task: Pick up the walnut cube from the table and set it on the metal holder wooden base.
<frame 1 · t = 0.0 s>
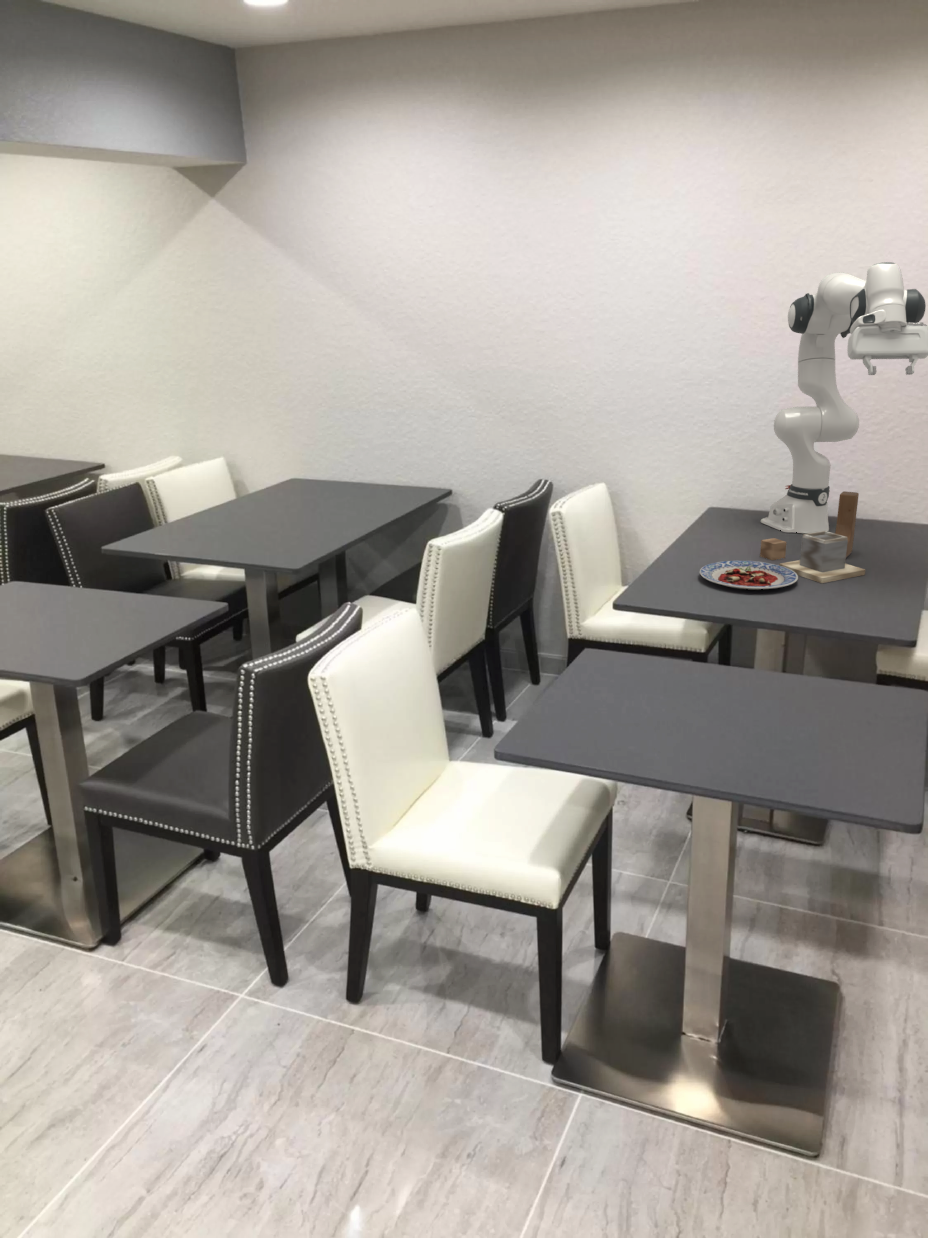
hand: (891, 373, 256), 54 cm above the table, tool tilted 30°, fingers open, 8 cm apart
walnut cube: (772, 557, 296), on the table
metal holder wooden base: (821, 571, 281), on the table
wooden block: (840, 555, 297), on the table
ceramic plate: (747, 581, 275), on the table
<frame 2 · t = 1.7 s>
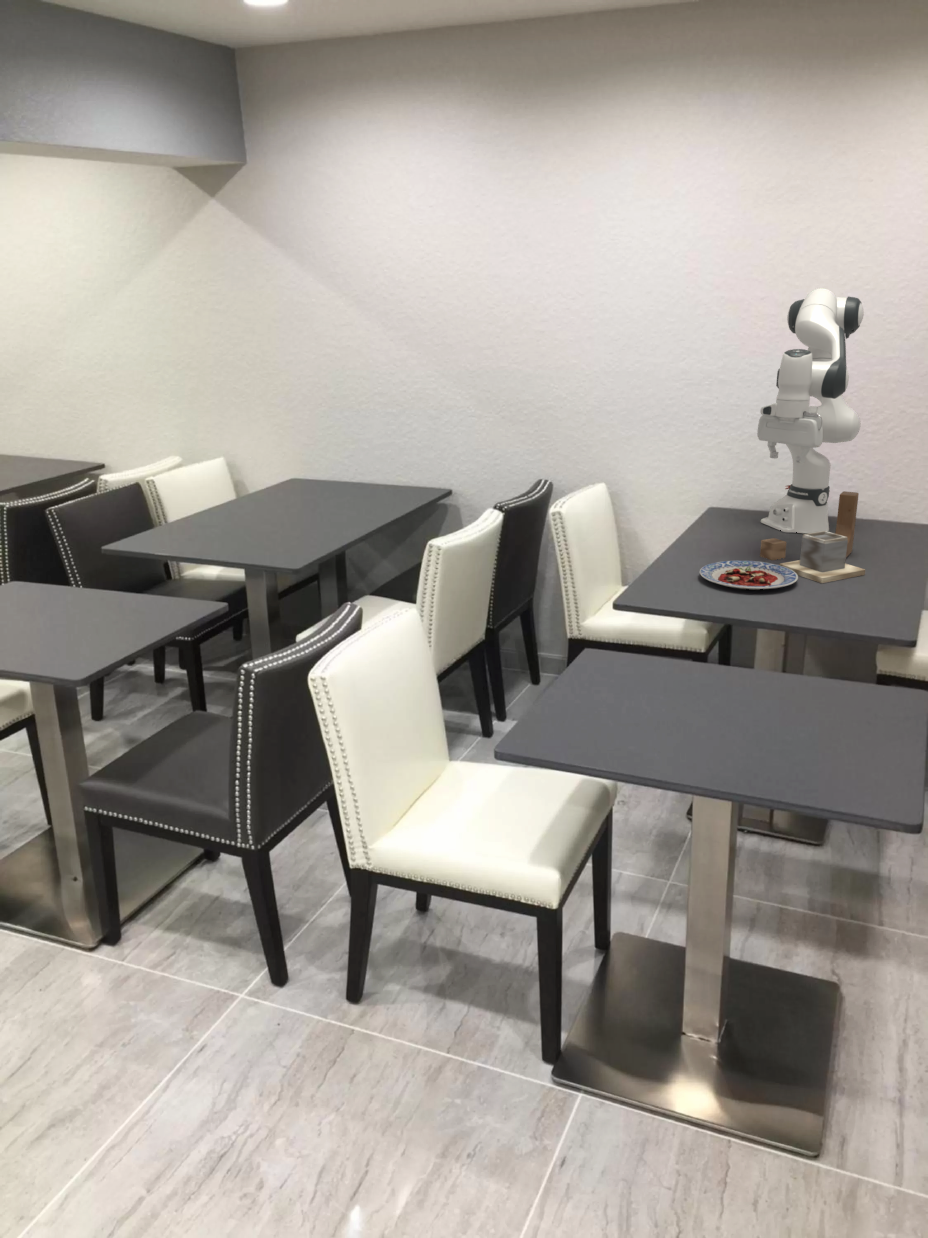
hand: (787, 460, 284), 29 cm above the table, tool pointing down, fingers open, 8 cm apart
nothing on the table moved.
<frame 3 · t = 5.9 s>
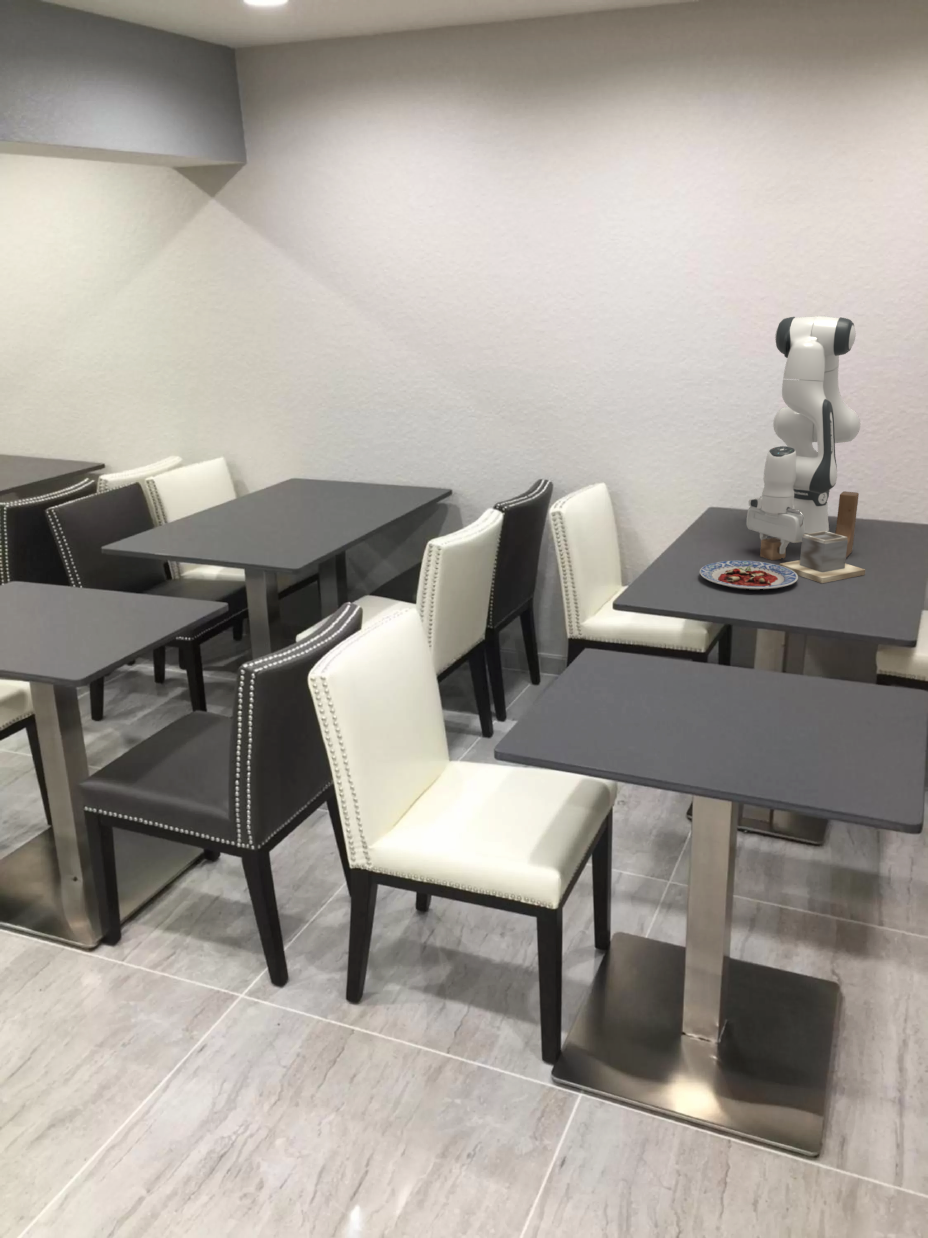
hand: (773, 550, 295), 2 cm above the table, tool pointing down, fingers closed on walnut cube, 5 cm apart
walnut cube: (772, 557, 296), on the table, touching gripper
everything else where it was.
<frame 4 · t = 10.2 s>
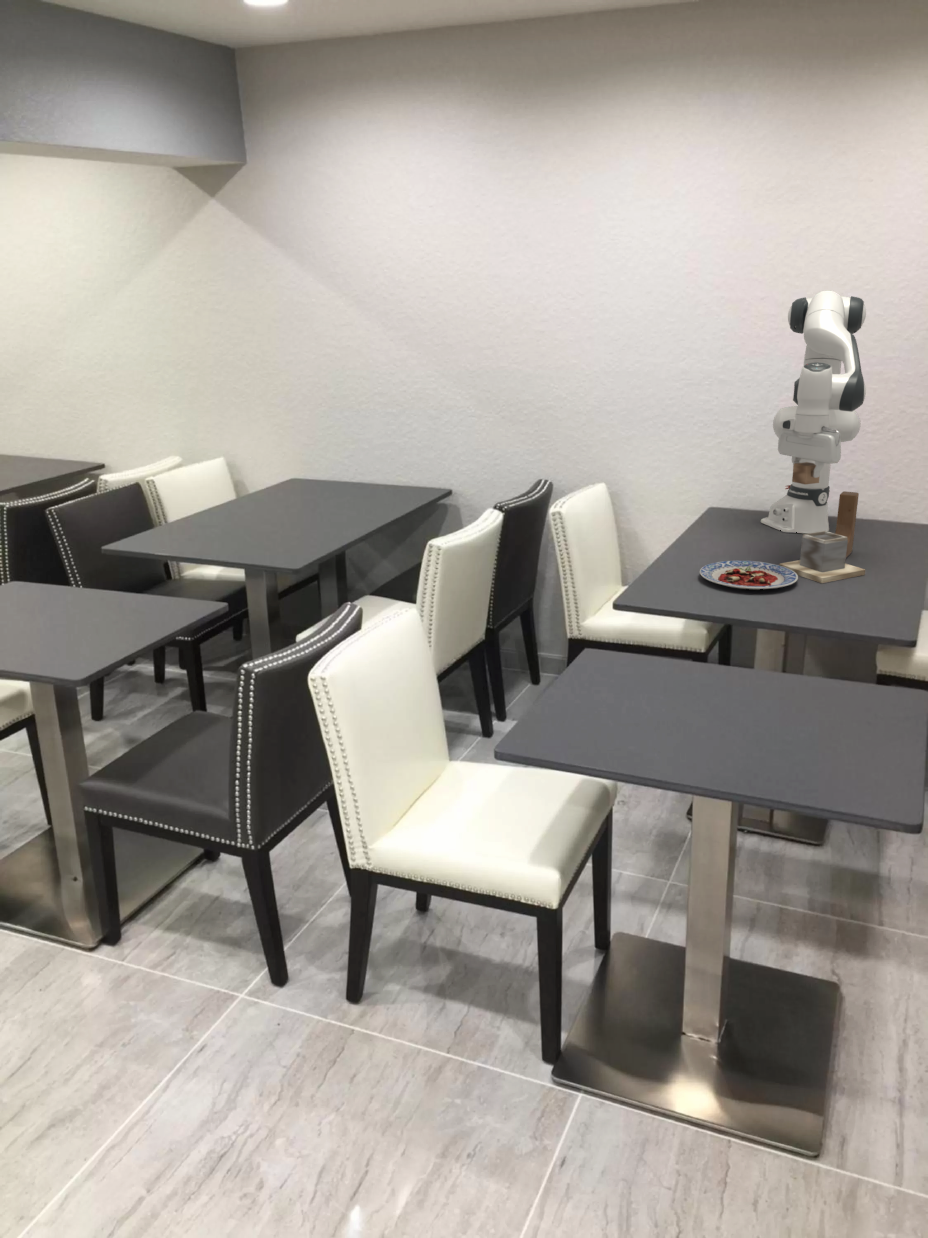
hand: (806, 475, 279), 26 cm above the table, tool pointing down, fingers closed on walnut cube, 5 cm apart
walnut cube: (805, 482, 280), point 24 cm above the table, touching gripper
everything else where it was.
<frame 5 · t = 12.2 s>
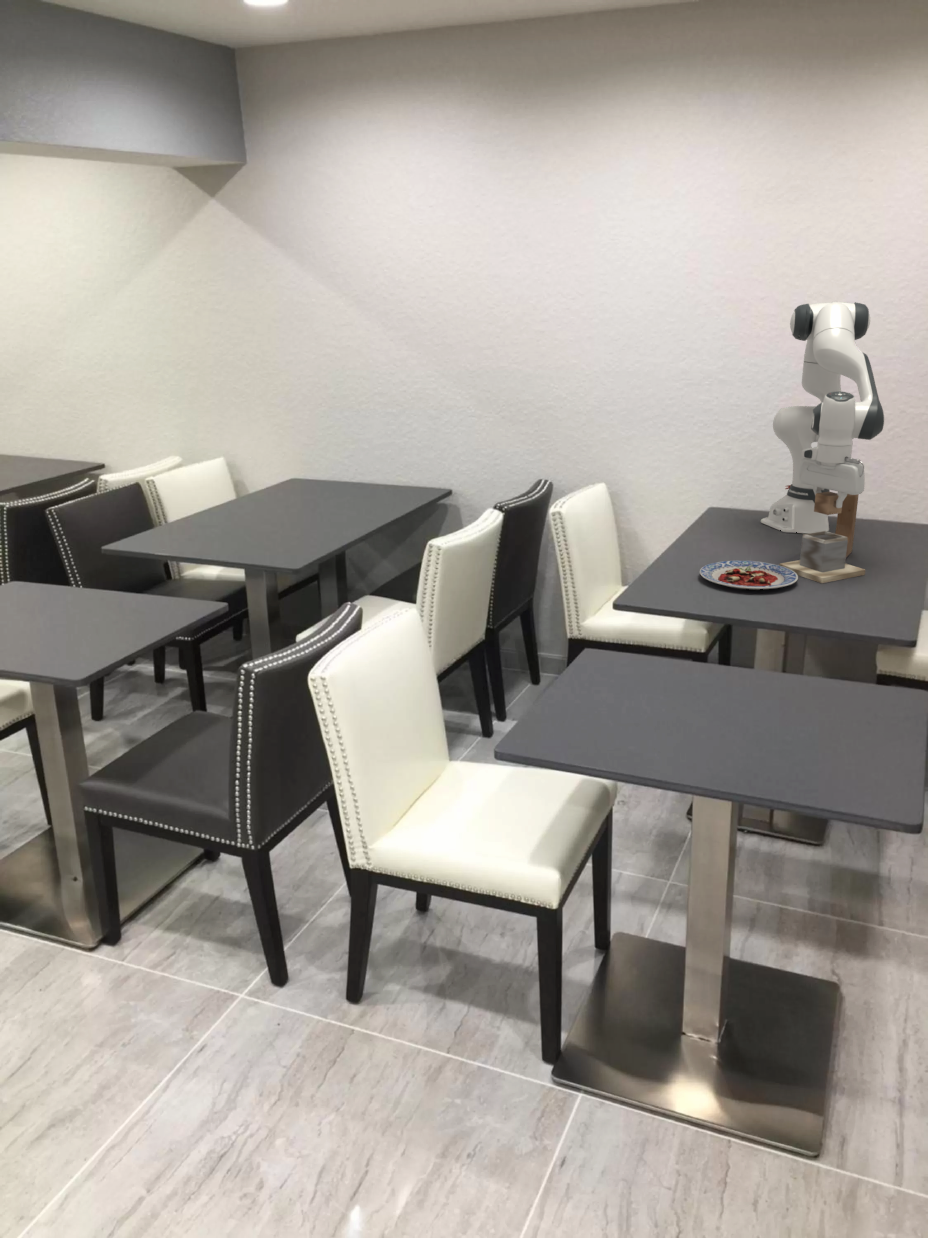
hand: (828, 505, 275), 19 cm above the table, tool pointing down, fingers closed on walnut cube, 5 cm apart
walnut cube: (827, 512, 275), point 17 cm above the table, touching gripper
everything else where it was.
when the fingers open (12 cm above the table, at t = 14.2 s): walnut cube stays where it is, resting on metal holder wooden base.
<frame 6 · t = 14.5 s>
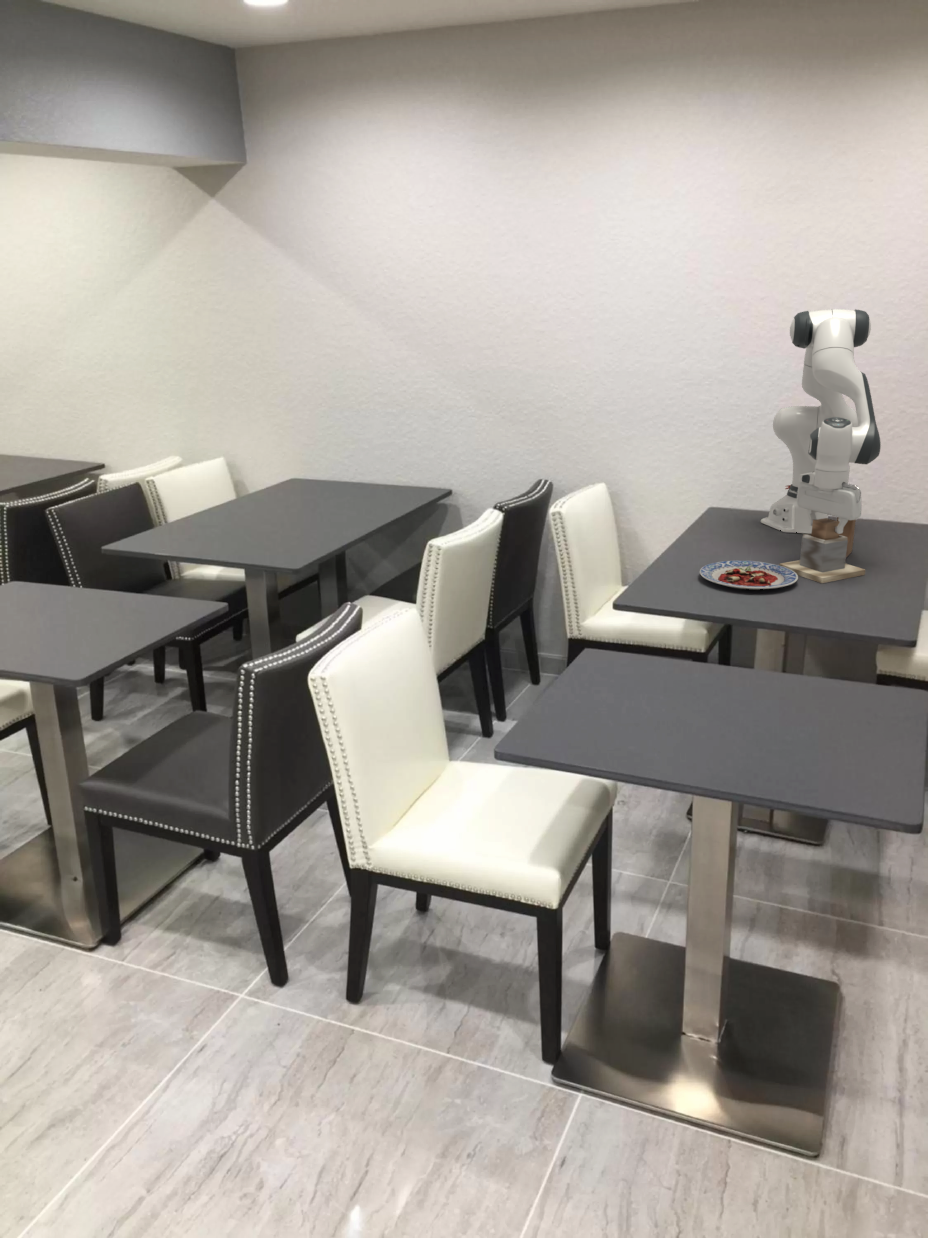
hand: (825, 529, 277), 12 cm above the table, tool pointing down, fingers open, 8 cm apart
walnut cube: (824, 538, 278), point 9 cm above the table, touching metal holder wooden base
everything else where it was.
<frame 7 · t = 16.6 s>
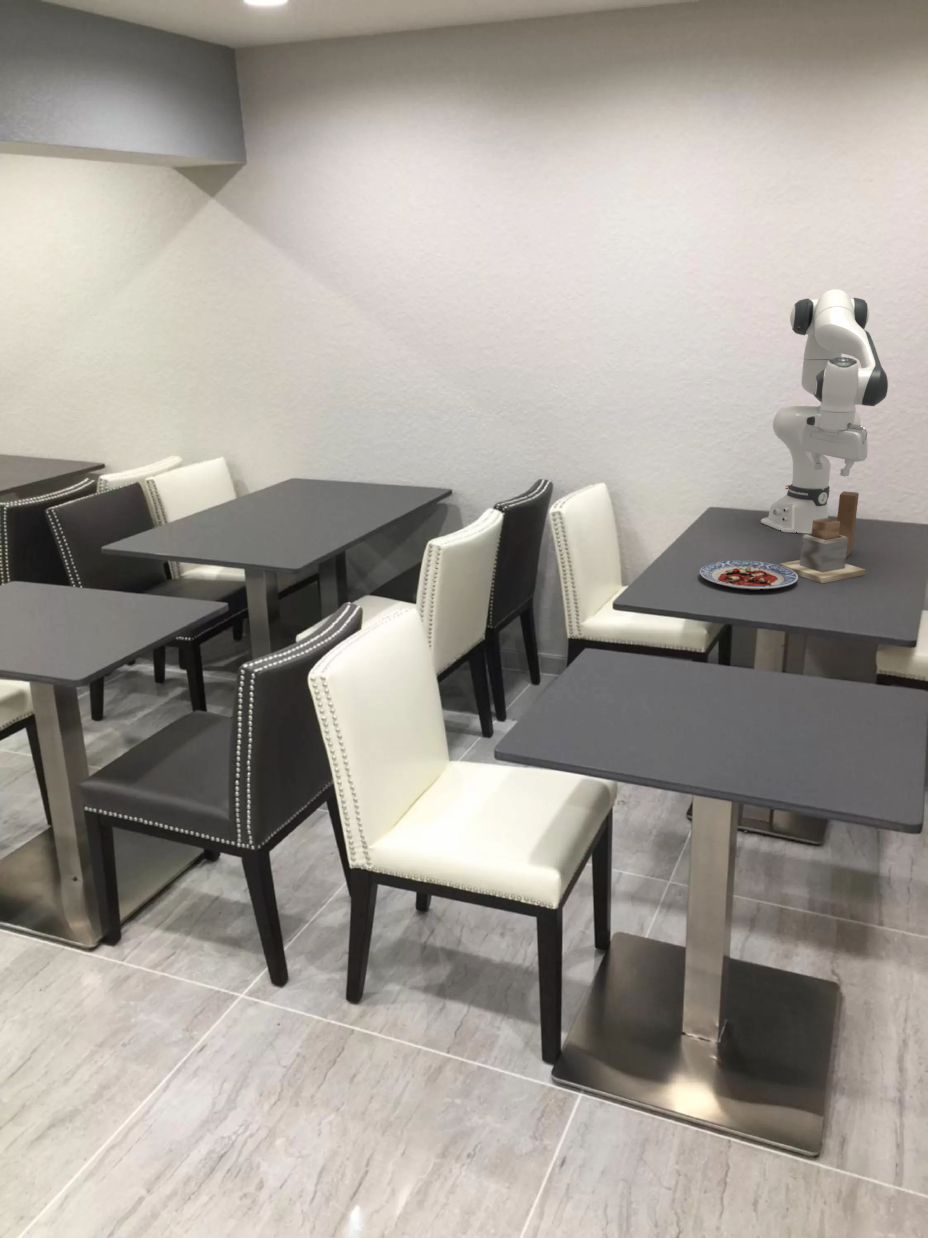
hand: (831, 472, 273), 28 cm above the table, tool pointing down, fingers open, 8 cm apart
nothing on the table moved.
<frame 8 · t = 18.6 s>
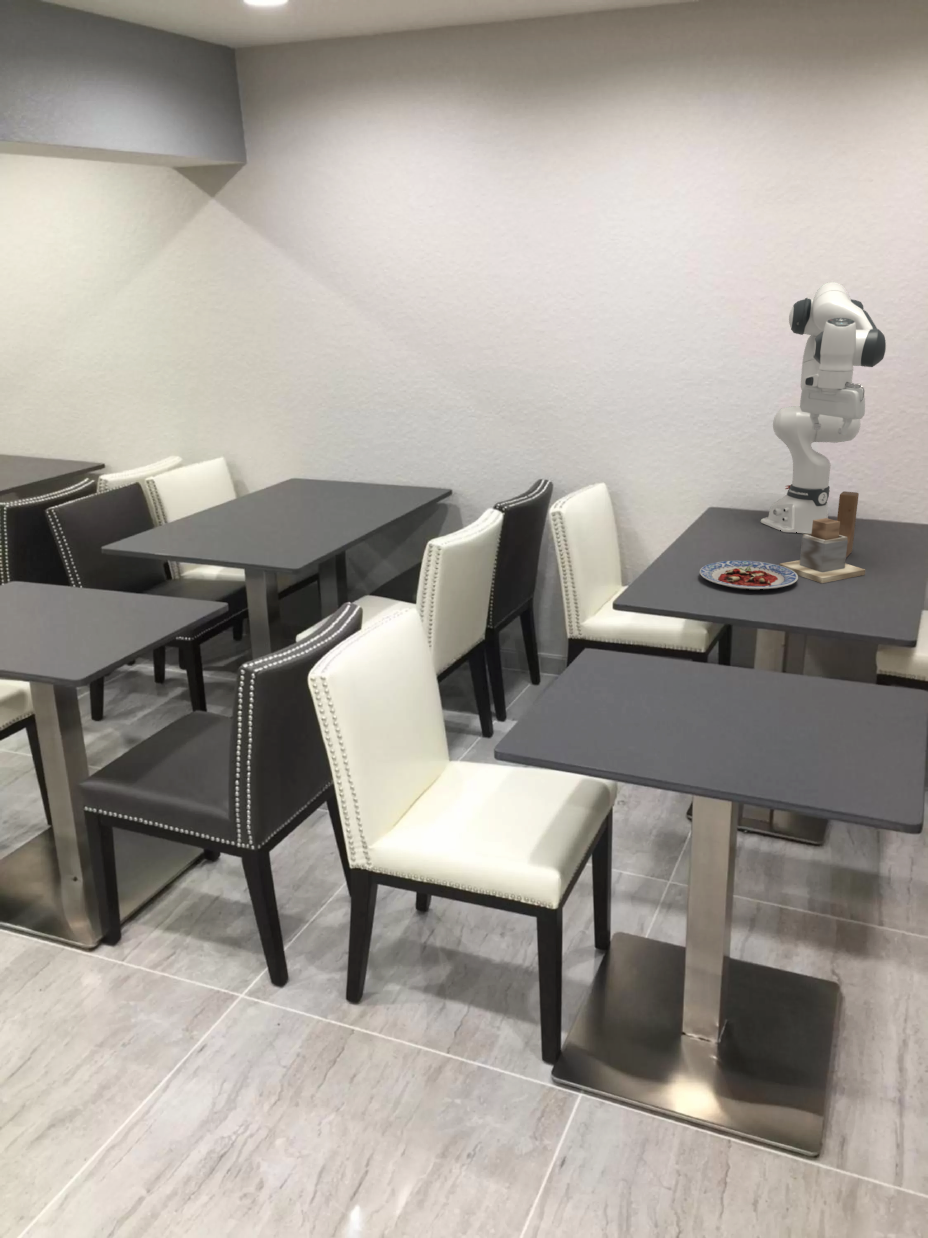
hand: (829, 432, 278), 37 cm above the table, tool pointing down, fingers open, 8 cm apart
nothing on the table moved.
at the end: walnut cube 0.1 cm off-centre on the metal holder wooden base, point 9.5 cm above the metal holder wooden base's base; walnut cube tilted 0°; the gripper is holding nothing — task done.
